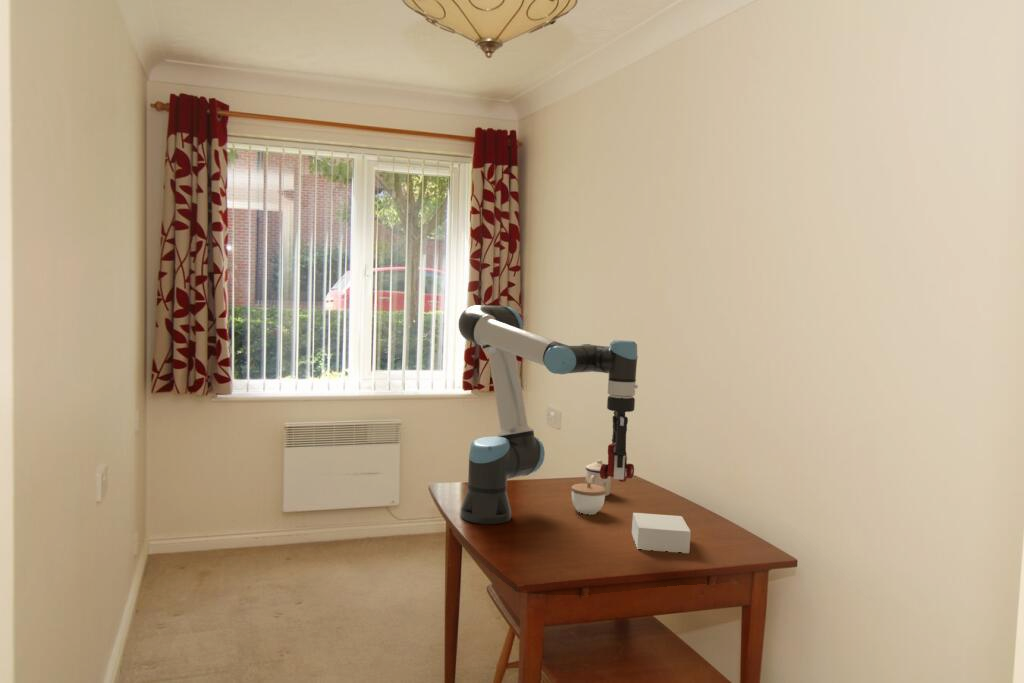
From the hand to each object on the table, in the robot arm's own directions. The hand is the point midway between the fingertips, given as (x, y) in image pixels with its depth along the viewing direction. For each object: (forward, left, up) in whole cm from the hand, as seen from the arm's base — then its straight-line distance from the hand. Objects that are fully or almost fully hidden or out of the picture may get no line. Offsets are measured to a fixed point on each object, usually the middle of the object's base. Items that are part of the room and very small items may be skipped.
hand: (617, 474), depth 209 cm
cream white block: (+13, 0, -19) cm, 23 cm away
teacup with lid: (-2, +47, -19) cm, 51 cm away
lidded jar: (-6, +25, -19) cm, 32 cm away
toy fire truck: (0, 0, -1) cm, 1 cm away
